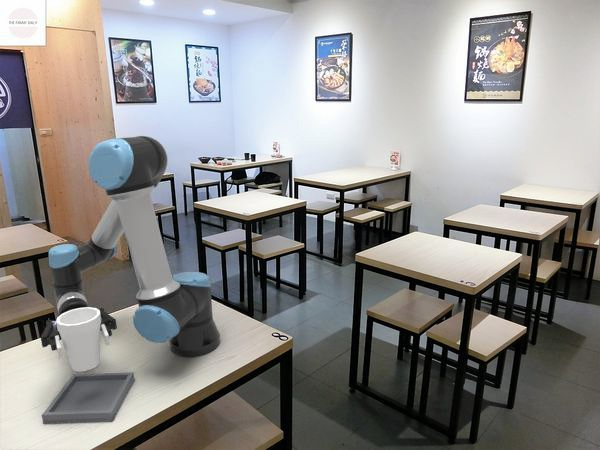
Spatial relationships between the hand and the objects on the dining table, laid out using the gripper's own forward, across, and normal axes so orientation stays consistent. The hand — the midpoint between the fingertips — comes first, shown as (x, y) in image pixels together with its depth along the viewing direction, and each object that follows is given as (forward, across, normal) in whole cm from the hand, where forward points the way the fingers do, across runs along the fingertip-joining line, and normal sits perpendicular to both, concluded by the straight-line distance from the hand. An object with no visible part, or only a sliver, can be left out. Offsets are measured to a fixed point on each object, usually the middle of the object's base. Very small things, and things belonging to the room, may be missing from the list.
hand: (84, 346), depth 102 cm
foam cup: (-4, 0, -7) cm, 8 cm away
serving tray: (-4, 0, -18) cm, 18 cm away
